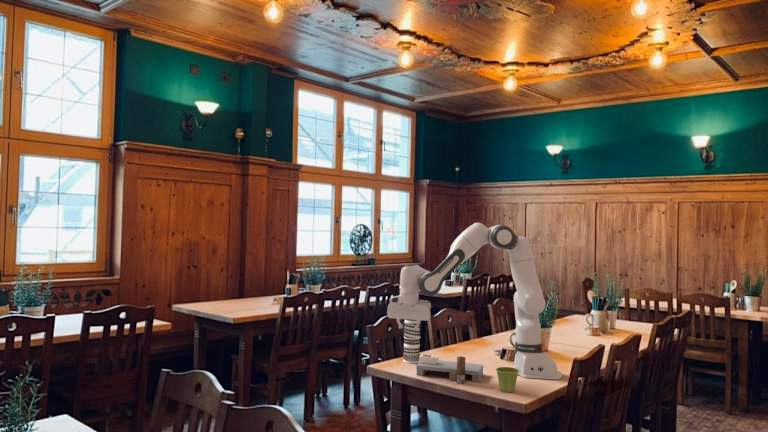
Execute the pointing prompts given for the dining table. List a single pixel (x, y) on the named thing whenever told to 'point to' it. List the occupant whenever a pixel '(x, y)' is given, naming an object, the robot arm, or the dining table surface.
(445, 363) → the grey pallet
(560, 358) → the dining table surface
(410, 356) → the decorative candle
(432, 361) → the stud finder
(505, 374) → the plant pot
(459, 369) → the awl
